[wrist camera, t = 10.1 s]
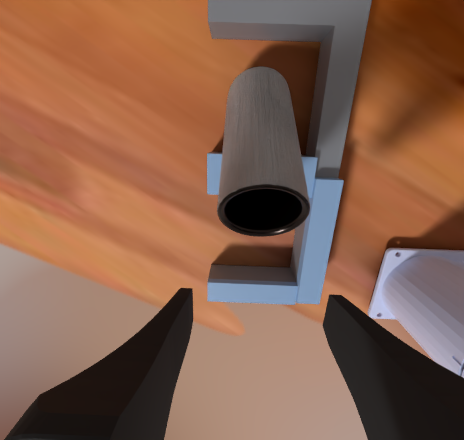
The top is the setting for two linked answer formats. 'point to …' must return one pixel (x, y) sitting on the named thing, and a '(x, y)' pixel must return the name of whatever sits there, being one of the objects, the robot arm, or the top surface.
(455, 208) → the top surface
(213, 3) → the grey flat angled piece
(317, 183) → the blue u-shaped bracket
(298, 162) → the grey cylinder
